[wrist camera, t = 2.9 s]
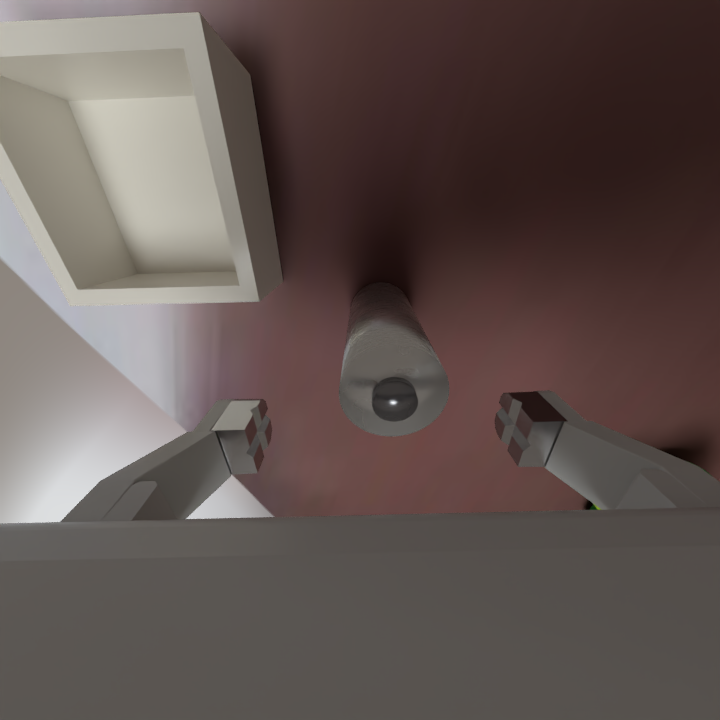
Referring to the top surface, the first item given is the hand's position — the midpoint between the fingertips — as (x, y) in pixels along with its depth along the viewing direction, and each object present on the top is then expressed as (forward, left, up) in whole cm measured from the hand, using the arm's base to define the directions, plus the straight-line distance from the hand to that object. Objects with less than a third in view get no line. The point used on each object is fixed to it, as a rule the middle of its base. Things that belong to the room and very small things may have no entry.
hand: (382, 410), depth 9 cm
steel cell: (0, 0, -10) cm, 10 cm away
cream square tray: (+11, -7, -10) cm, 16 cm away
